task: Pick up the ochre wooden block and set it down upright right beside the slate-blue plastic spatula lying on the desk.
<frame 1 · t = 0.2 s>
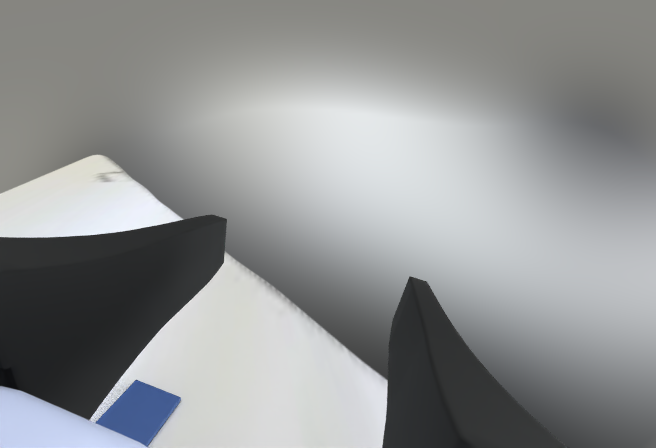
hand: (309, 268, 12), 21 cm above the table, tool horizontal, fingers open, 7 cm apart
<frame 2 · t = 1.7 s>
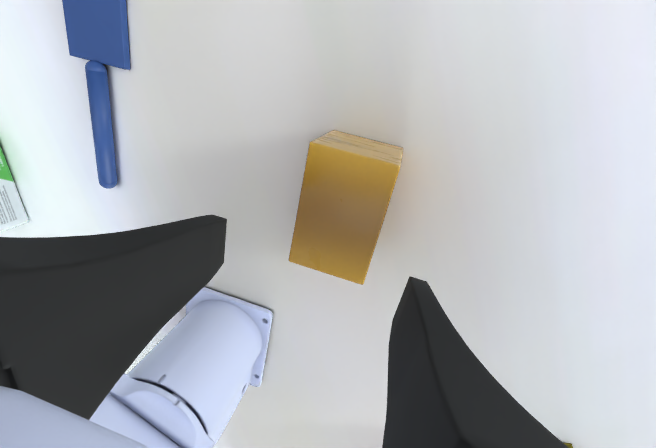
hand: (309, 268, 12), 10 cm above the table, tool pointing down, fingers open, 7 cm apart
spatula: (104, 78, 22), on the table
block: (354, 191, 21), on the table
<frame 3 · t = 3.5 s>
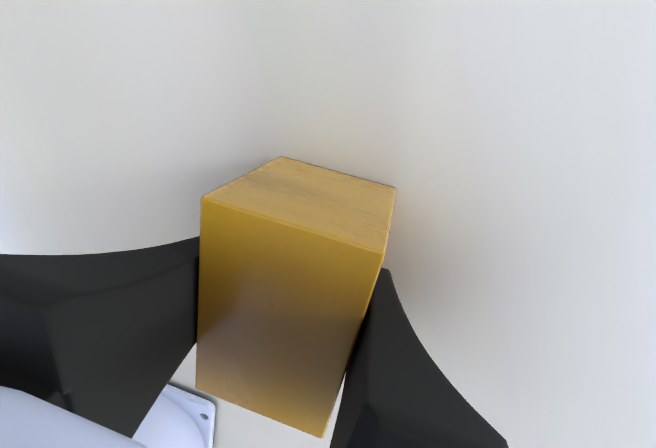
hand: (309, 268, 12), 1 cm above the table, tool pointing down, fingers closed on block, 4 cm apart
block: (318, 251, 13), on the table, touching gripper
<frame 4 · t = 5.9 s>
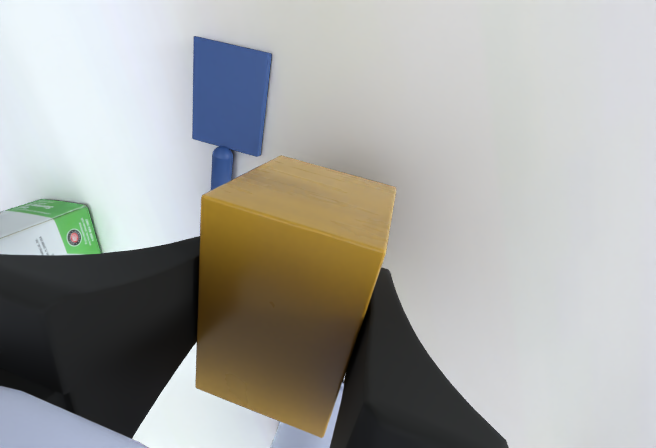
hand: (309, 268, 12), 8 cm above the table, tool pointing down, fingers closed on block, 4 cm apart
ink box: (81, 247, 27), on the table
spatula: (227, 162, 20), on the table
block: (319, 250, 13), point 7 cm above the table, touching gripper
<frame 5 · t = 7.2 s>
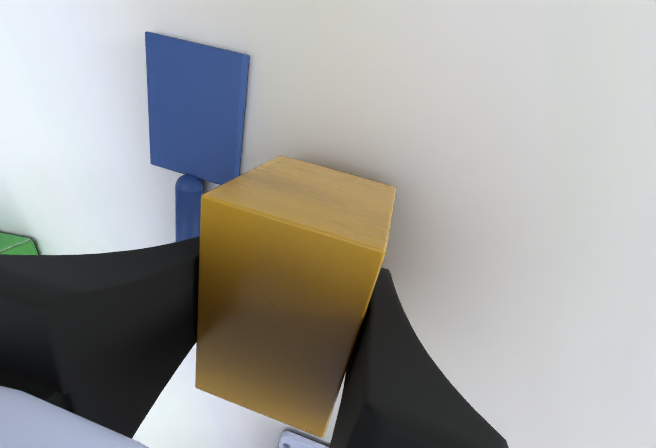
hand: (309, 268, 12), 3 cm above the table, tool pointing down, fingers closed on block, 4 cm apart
ink box: (32, 284, 22), on the table
spatula: (196, 192, 16), on the table
block: (318, 250, 13), point 2 cm above the table, touching gripper
when the fingers open (1 cm above the table, at t = 8.3 s): block stays where it is, on the table.
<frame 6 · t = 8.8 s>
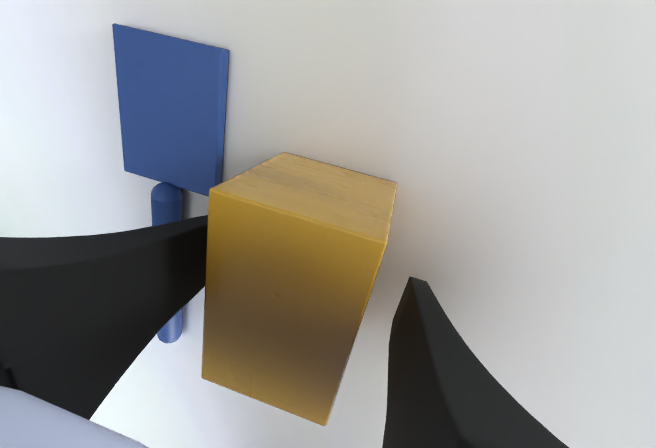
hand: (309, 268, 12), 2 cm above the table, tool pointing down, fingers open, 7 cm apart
spatula: (176, 202, 14), on the table
block: (321, 245, 13), on the table
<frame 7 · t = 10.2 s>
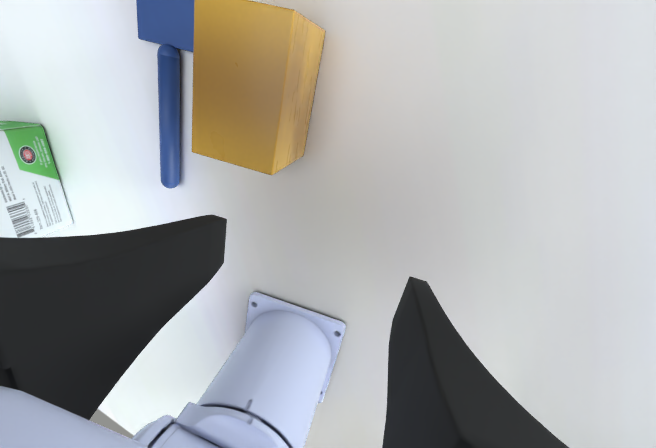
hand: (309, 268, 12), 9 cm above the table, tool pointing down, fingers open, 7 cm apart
ink box: (41, 174, 26), on the table
spatula: (175, 65, 20), on the table
block: (278, 89, 19), on the table
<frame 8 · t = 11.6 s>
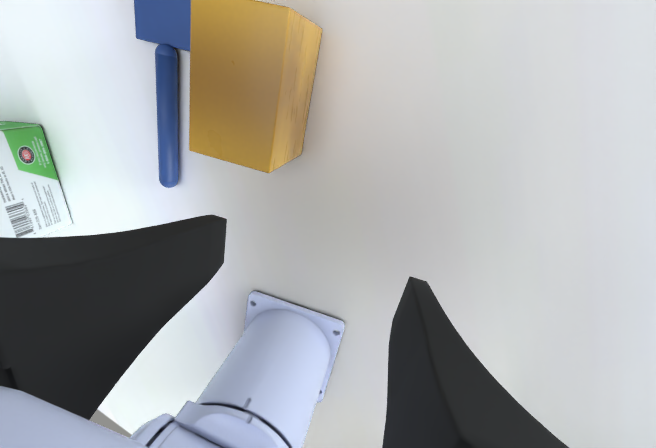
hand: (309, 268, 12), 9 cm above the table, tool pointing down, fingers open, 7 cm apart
ink box: (40, 174, 26), on the table
spatula: (173, 64, 20), on the table
block: (275, 88, 19), on the table
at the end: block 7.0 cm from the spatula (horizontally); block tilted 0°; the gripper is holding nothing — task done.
